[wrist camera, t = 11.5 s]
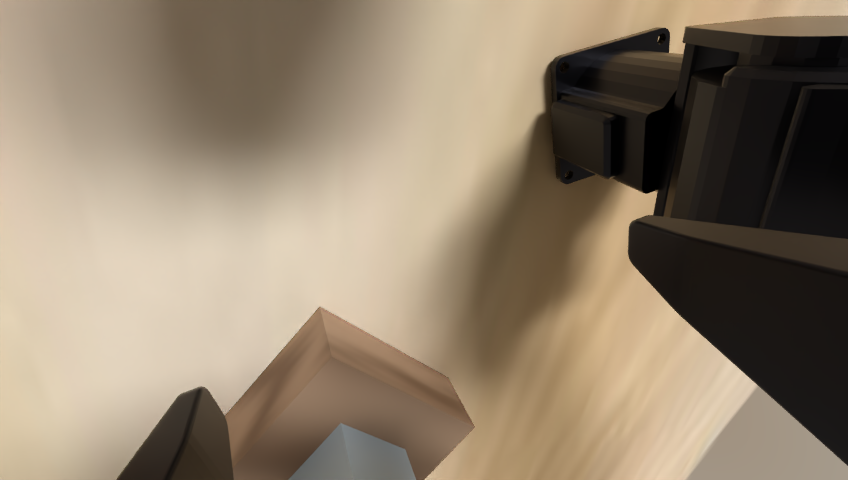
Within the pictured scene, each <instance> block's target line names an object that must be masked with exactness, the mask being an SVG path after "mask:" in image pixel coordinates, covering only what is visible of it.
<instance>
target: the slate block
mask: <svg viewBox="0 0 848 480" xmlns="http://www.w3.org/2000/svg"><path fill="white" fill-rule="evenodd" d="M289 480H416V478H415V475H414V472H413V470H412V467H411V464H410V461H409V458H408V456H407V453H406V450H405V449H403V448H401V447H398V446H396V445H393V444H391V443H388V442H386V441H384V440H381V439H379V438H376V437H374V436H371V435H369V434H366V433H364V432H362V431H359V430H357V429H354V428H352V427H349V426H347V425H344V424H342V423H340V424H339V425H338V427H337V428H336V429H335V430H334V431H333V432H332V433H331V434H330V435H329V436H328V437H327V438H326V440H325V441H324V442H323V443H322V444H321V445H320V446H319V447H318V448H317V449H316V450H315V451H314V453H313V454H312V455H311V456H310V457H309V458H308V459H307V460H306V461H305V462H304V463H303V464H302V466H301V467H300V468H299V469H298V470H297V471H296V472H295V473H294V474H293V475H292V476H291V477H290V478H289Z"/></svg>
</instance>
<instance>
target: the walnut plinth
mask: <svg viewBox="0 0 848 480" xmlns="http://www.w3.org/2000/svg"><path fill="white" fill-rule="evenodd" d="M225 418H226V421H227V425H228V431H229V440H230V449H231V458H232V467H233V476H234V480H289V478H290V477H291V476H292V475H293V474H294V473H295V472H296V471H297V470H298V469H299V468H300V467H301V466H302V464H303V463H304V462H305V461H306V460H307V459H308V458H309V457H310V456H311V455H312V454H313V453H314V451H315V450H316V449H317V448H318V447H319V446H320V445H321V444H322V443H323V442H324V441H325V440H326V438H327V437H328V436H329V435H330V434H331V433H332V432H333V431H334V430H335V429H336V428H337V427H338V425H339V424H340V423H342V424H344V425H347V426H349V427H352V428H354V429H357V430H359V431H362V432H364V433H366V434H369V435H371V436H374V437H376V438H379V439H381V440H384V441H386V442H388V443H391V444H393V445H396V446H398V447H401V448H403V449H405V450H406V453H407V456H408V458H409V461H410V464H411V467H412V470H413V472H414V475H415V478H416V480H424V479H425V478H426V477H427V476H428V475H429V474H430V473H431V472H432V471H433V470H434V469H435V468H436V467H437V466H438V465H439V464H440V463H441V462H442V461H443V460H444V459H445V458H446V457H447V455H448V454H449V453H450V452H451V451H452V450H453V449H454V448H455V447H456V446H457V445H458V444H459V443H460V442H461V441H462V440H463V439H464V438H465V437H466V436H467V435H468V434H469V433H470V432H471V431H472V430H473V429H474V427H475V426H474V425H473V423H472V421H471V419H470V417H469V415H468V414H467V412H466V410H465V408H464V406H463V404H462V403H461V401H460V399H459V397H458V395H457V393H456V392H455V390H454V388H453V386H452V384H451V382H450V381H449V379H448V377H446V376H444V375H442V374H440V373H439V372H437V371H435V370H433V369H431V368H429V367H428V366H426V365H424V364H422V363H420V362H419V361H417V360H415V359H413V358H411V357H410V356H408V355H406V354H404V353H402V352H401V351H399V350H397V349H395V348H393V347H392V346H390V345H388V344H386V343H384V342H383V341H381V340H379V339H377V338H375V337H374V336H372V335H370V334H368V333H366V332H365V331H363V330H361V329H359V328H357V327H355V326H354V325H352V324H350V323H348V322H346V321H345V320H343V319H341V318H339V317H337V316H336V315H334V314H332V313H330V312H328V311H327V310H325V309H323V308H321V307H319V308H318V309H317V311H316V312H315V313H314V314H313V315H312V316H311V318H310V319H309V320H308V321H307V322H306V323H305V324H304V326H303V327H302V328H301V329H300V330H299V331H298V333H297V334H296V335H295V336H294V337H293V338H292V339H291V341H290V342H289V343H288V344H287V345H286V346H285V347H284V349H283V350H282V351H281V352H280V353H279V354H278V356H277V357H276V358H275V359H274V360H273V361H272V362H271V364H270V365H269V366H268V367H267V368H266V369H265V371H264V372H263V373H262V374H261V375H260V376H259V377H258V379H257V380H256V381H255V382H254V383H253V384H252V386H251V387H250V388H249V389H248V390H247V391H246V392H245V394H244V395H243V396H242V397H241V398H240V399H239V400H238V402H237V403H236V404H235V405H234V406H233V407H232V409H231V410H230V411H229V412H228V413H227V414H226V415H225Z"/></svg>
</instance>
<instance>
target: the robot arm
mask: <svg viewBox="0 0 848 480" xmlns="http://www.w3.org/2000/svg"><path fill="white" fill-rule="evenodd" d="M658 36H660V38H659V41H658V42H657V39H658ZM669 43H670V32H669V31H668V29H666V28H654V29H650V30H647V31H643V32H640V33H636V34H633V35H629V36H626V37H622V38H619V39H615V40H612V41H608V42H605V43H601V44H598V45H594V46H591V47H587V48H584V49H580V50H577V51H573V52H570V53H566V54H563V55H559V56H558V57H556V58H555V59H554V60H553V62H552V64H551V85H552V103H553V104H552V107H551V117H552V134H553V151H554V154H555V157H556V175H557V179H558V180H559V181H561V182H562V183H565V184H570V183H573V182H576V181H578V180H581V179H584V178H587V177H590V176H593V175H595V174H596V175H598V176H601V177H603V178H605V179H610V178H612V179H614V180H616V181H618V182H621V183H623V184H625V185H627V186H629V187H632V188H634V189H636V190H638V191H640V192H643V193H650V192H653V191H656V192H658V193H657V198H656V203H655V209H654V214H653V215H648V216H644V217H642V218H639V219H636V220H634V221H632V222H631V224H630V226H629V239H628V255H629V259H630V261H631V263H632V264H633V265H634V266H635V268H636V269H637V270H638V271H639V272H640V273H641V274H642V275H643V276H644V277H645V278H646V280H647V281H648V282H649V283H650V284H651V285H652V286H653V287H654V288H655V289H656V290H657V292H658V293H659V294H660V295H661V296H662V297H663V298H664V299H665V300H666V301H667V302H668V303H669V305H670V306H671V307H672V308H673V309H674V310H675V311H676V312H677V313H678V314H679V315H680V316H681V317H682V318H683V319H684V320H686V321H687V322H688V323H689V324H690V325H691V326H692V327H693V328H694V329H695V330H697V331H698V332H699V333H700V334H701V335H702V336H703V337H704V338H706V339H707V340H708V341H709V342H710V343H711V344H712V345H713V346H714V347H716V348H717V349H718V350H719V351H720V352H721V353H722V354H723V355H725V356H726V357H727V358H728V359H729V360H730V361H731V362H732V363H733V364H735V365H736V366H737V367H738V368H739V369H740V370H741V371H742V372H744V373H745V374H746V375H747V376H748V377H749V378H750V379H751V380H752V381H754V382H755V383H756V384H757V385H758V386H759V387H760V388H761V389H763V390H764V391H765V392H766V393H767V394H768V395H769V396H770V397H771V398H773V399H774V400H775V401H776V402H777V403H778V404H779V405H780V406H782V407H783V408H784V409H785V410H786V411H787V412H788V413H790V415H792V416H793V417H794V418H795V419H796V420H797V421H799V423H801V424H802V425H803V426H804V427H805V428H806V429H807V430H808V431H809V432H811V433H812V434H813V435H814V436H815V437H816V438H817V439H819V440H820V441H821V442H822V443H823V444H824V445H825V446H826V447H827V448H829V449H830V450H831V451H832V452H833V453H834V454H835V455H836V456H837V457H839V458H840V459H841V460H842V461H843V462H844V463H845V464H847V466H848V16H800V17H773V18H763V19H754V20H744V21H734V22H725V23H715V24H705V25H696V26H687V27H685V33H684V38H683V43H686V44H685V49H684V54H674V53H669ZM563 62H564V69H563V71H560V66H561V64H562V63H563ZM567 171H569V173H568V175H567V176H566V177H565V174H566V172H567ZM116 480H234V476H233V467H232V458H231V449H230V440H229V431H228V425H227V421H226V418H225V416H224V414H223V413H222V411H221V409H220V408H219V406H218V405H217V403H216V402H215V400H214V398H213V397H212V395H211V394H210V392H209V391H208V390H207V389H206V388H205V387H198V388H195V389H193V390H190V391H187V392H185V393H182V394H180V395H179V396H178V397H177V398H176V400H175V401H174V402H173V404H172V405H171V406H170V408H169V409H168V411H167V412H166V413H165V415H164V416H163V417H162V419H161V420H160V421H159V423H158V424H157V425H156V427H155V428H154V429H153V431H152V432H151V433H150V435H149V436H148V438H147V439H146V440H145V442H144V443H143V444H142V446H141V447H140V448H139V450H138V451H137V452H136V454H135V455H134V456H133V458H132V459H131V460H130V462H129V463H128V465H127V466H126V467H125V469H124V470H123V471H122V473H121V474H120V475H119V477H118V478H117V479H116Z"/></svg>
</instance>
